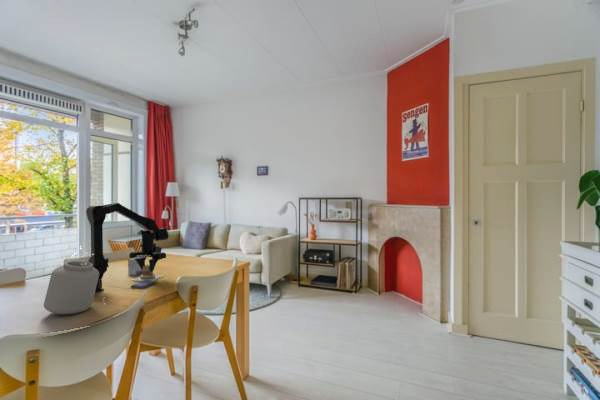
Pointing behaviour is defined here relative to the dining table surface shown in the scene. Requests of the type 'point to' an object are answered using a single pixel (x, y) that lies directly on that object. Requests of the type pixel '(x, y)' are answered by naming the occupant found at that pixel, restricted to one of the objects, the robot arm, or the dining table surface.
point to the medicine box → (133, 267)
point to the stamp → (147, 273)
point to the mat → (147, 279)
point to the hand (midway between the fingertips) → (147, 271)
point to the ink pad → (143, 284)
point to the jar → (71, 288)
